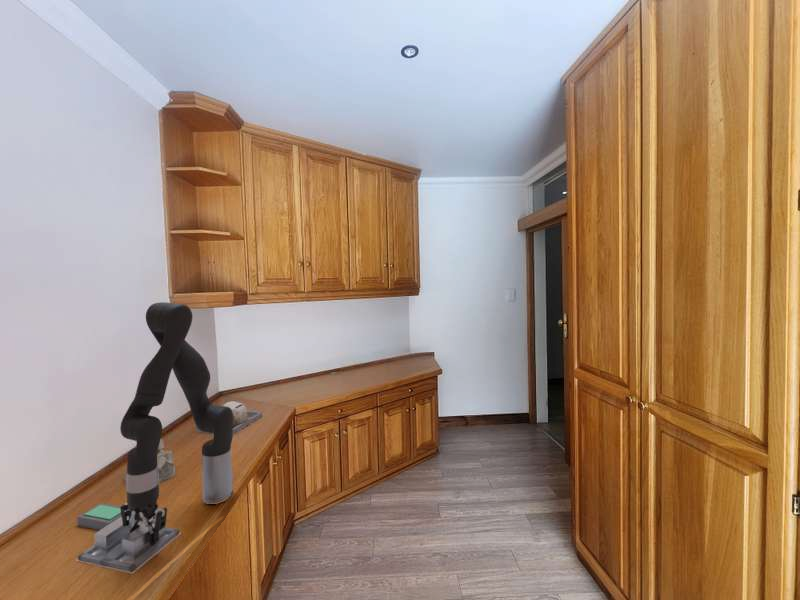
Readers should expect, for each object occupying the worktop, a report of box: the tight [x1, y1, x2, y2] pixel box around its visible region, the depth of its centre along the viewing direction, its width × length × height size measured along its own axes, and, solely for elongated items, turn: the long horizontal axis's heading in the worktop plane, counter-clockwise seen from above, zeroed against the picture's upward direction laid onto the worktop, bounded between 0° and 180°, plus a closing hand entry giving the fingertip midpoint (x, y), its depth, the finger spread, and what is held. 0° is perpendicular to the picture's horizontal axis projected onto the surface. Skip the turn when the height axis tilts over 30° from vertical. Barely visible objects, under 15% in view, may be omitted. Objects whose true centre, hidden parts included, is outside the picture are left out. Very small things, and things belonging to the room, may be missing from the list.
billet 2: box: [122, 517, 166, 563], centre depth 106 cm, size 4×10×6 cm, turn 166°
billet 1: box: [94, 516, 139, 557], centre depth 108 cm, size 10×4×6 cm, turn 167°
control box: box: [77, 502, 122, 531], centre depth 118 cm, size 7×12×4 cm, turn 77°
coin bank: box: [222, 400, 249, 428], centre depth 199 cm, size 16×17×13 cm
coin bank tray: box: [195, 410, 263, 435], centre depth 201 cm, size 27×20×2 cm
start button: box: [84, 504, 121, 521], centre depth 118 cm, size 5×10×2 cm, turn 77°
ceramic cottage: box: [123, 438, 176, 483], centre depth 147 cm, size 16×16×15 cm
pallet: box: [75, 521, 182, 574], centre depth 107 cm, size 16×19×2 cm
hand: (144, 541), depth 106 cm, fingers open, 6 cm apart
